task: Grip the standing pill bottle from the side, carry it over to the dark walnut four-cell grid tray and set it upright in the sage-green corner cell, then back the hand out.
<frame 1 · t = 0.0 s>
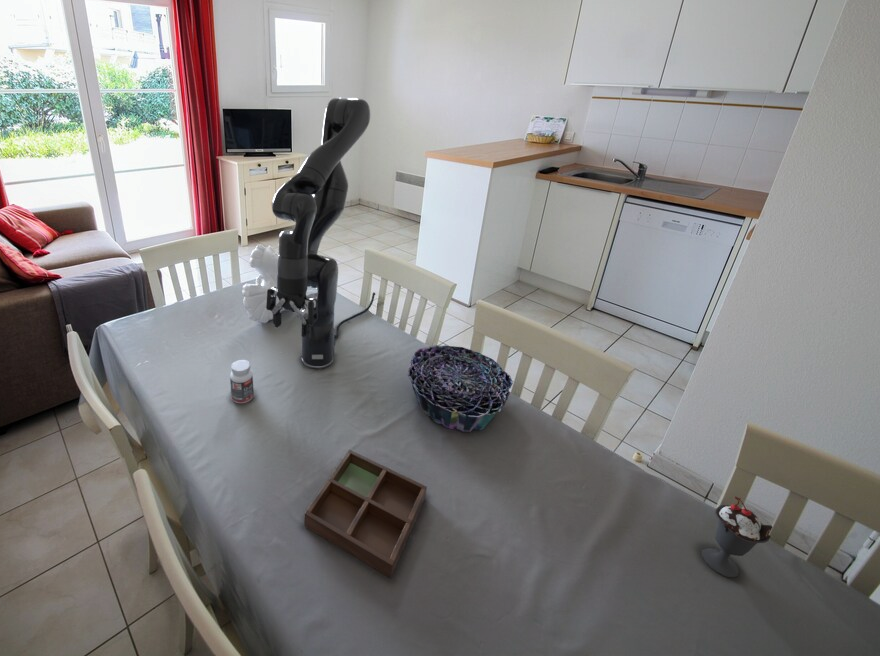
hand: (290, 330, 110), 17 cm above the table, tool pointing down, fingers open, 8 cm apart
decorative bowl: (455, 402, 112), on the table
sundae: (719, 563, 75), on the table
grid: (366, 512, 83), on the table
decorative rooster: (271, 312, 153), on the table
pill bottle: (242, 397, 112), on the table
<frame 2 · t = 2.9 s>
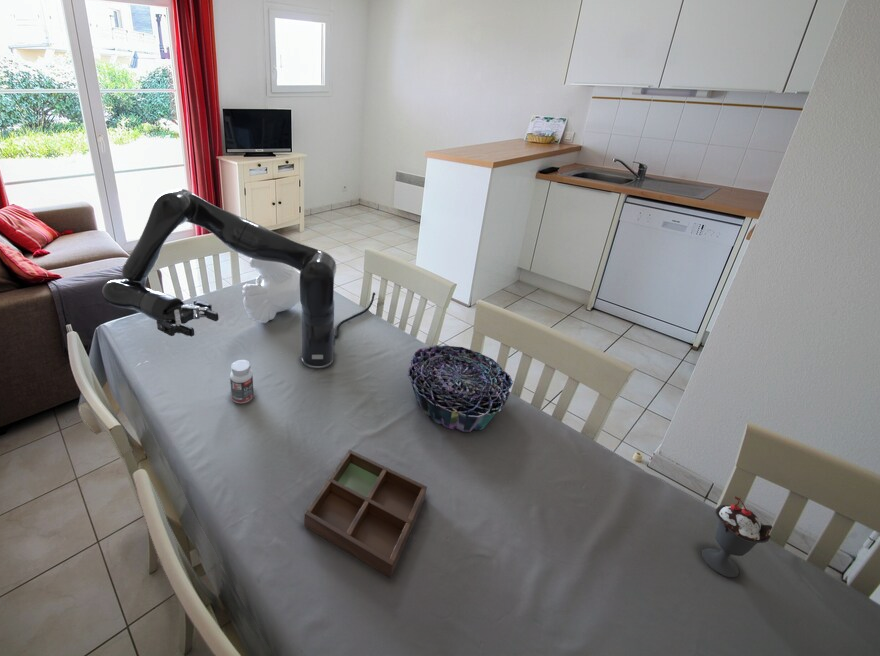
hand: (205, 324, 110), 18 cm above the table, tool horizontal, fingers open, 8 cm apart
nothing on the table moved.
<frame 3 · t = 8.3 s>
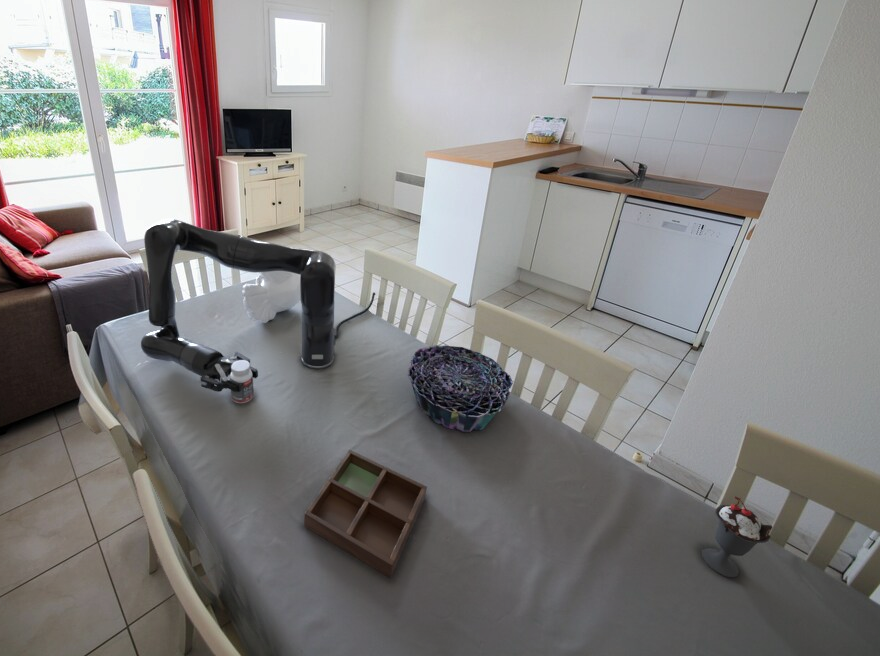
hand: (248, 381, 109), 6 cm above the table, tool horizontal, fingers closed on pill bottle, 5 cm apart
pill bottle: (242, 397, 112), on the table, touching gripper
everything else where it was.
when the fingers open (7 cm above the table, at t = 18.9 s): pill bottle stays where it is, resting on grid.
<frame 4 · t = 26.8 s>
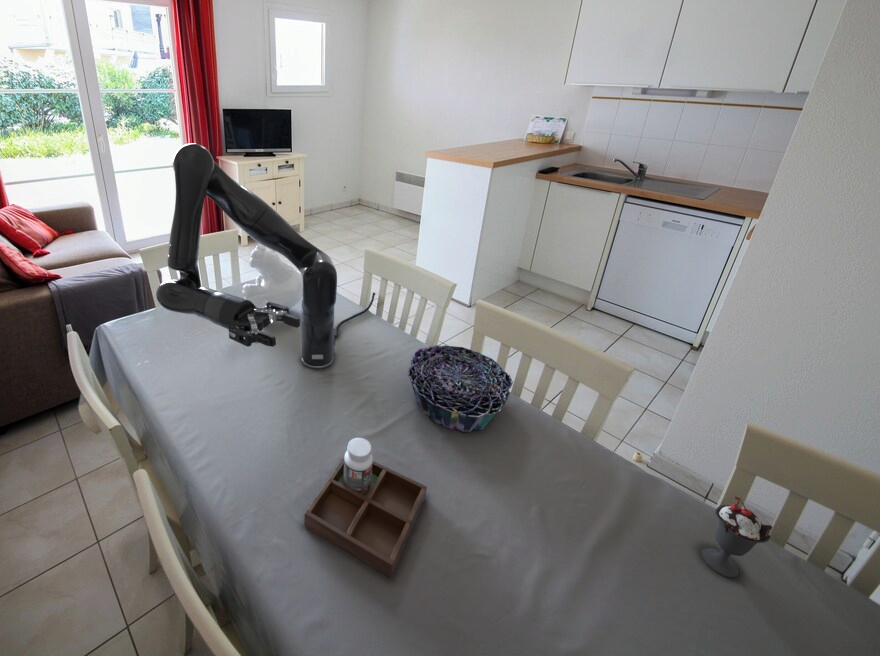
hand: (287, 332, 90), 28 cm above the table, tool horizontal, fingers open, 8 cm apart
pill bottle: (357, 484, 88), point 1 cm above the table, touching grid
everything else where it was.
at the end: pill bottle 0.2 cm from the target spot in the grid, point 0.6 cm above the grid's base; pill bottle tilted 0°; the gripper is holding nothing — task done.
